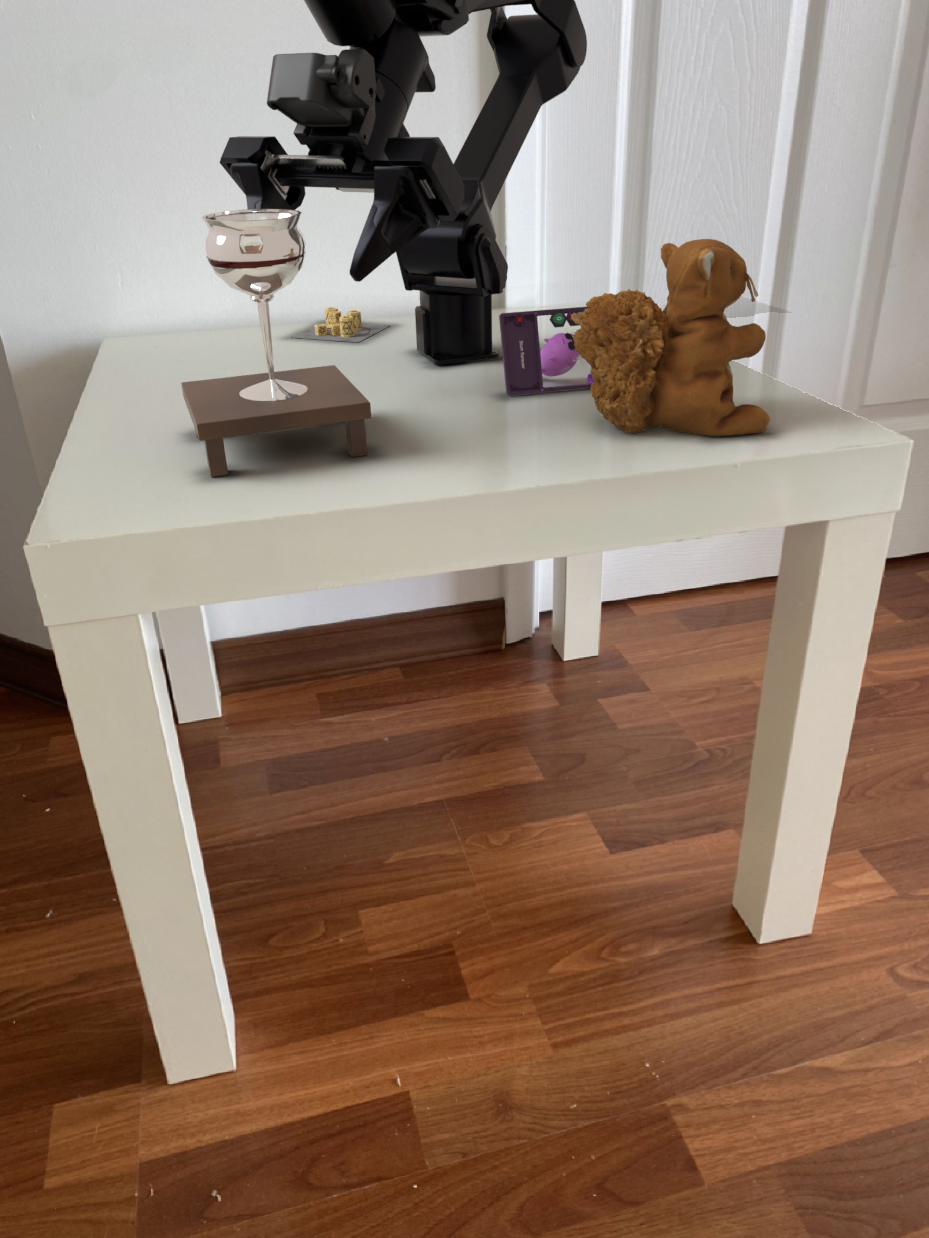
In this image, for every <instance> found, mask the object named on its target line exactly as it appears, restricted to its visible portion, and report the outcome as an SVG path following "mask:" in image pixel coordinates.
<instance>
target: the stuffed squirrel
mask: <svg viewBox="0 0 929 1238" xmlns="http://www.w3.org/2000/svg"><path fill="white" fill-rule="evenodd" d="M660 259H661V261H662V263H663V265H664V268H665V269H666V270H665V271H666V272H665V273H666V274H665V278H666V287H667V290H668V295H667V297H666V305H665V306H664V308H663V309H662V308H661V307H660V305H658V303H656V302H655V301H654V299H653V297H651V296H647V295H646V292H645V291H643V292H641V291H639V289H636V290H631V288H628V289H627V290H621V291H619V292H617V293H616V294H614V293H612V292H610V293H607V292H604V293H603V294H601V295H597V296H592V297H591V298H589V300H588V301H587V302H586V303H585V307H587V309H585V310H584V312H580V313H577V314H576V315H575V316H574V315H571V319H572V320H574V322H575V323H576V324H577V325H579V327H580V328H579V329H576V331H574V332H573V334H572V337H574V339H573V340H574V342H575V343H574V346H575V348H576V351H577V352H578V353H579V355H578V356H581V358H582V359H584V360H585V361H586V363H587V364H588V365H589V366H590V373H589V374H592V378H593V379H594V382H593V383H592V382H591V383H592V384H591V388H589V391H590V396H591V397H592V398H593V400H594V404H595V407H596V409H597V411H598V413H600V414H601V415H602V417H603V418H604V420H606V421H608V422H609V423H610V424H611V425H613V427H615V428H616V429H619V430H622V431H624V432H625V433H628V434H629V433H630V434H639V433H641V432H644V431H646V430H647V429H651V428H658V427H662V428H665V429H667V430H671V431H674V432H679V433H685V434H686V433H687V434H694V435H701V436H710V437H711V436H712V437H724V436H739V435H748V434H760V433H764V432H765V431H766V430H767V429H768V427H769V425H770V422H771V418H770V417H771V416H770V415H769V414H768V412H767V411H766V410H764V409H763V408H762V407H761V406H759V405H756V404H747V403H745V404H744V403H743V404H740V405H737V406H736V405H735V402H734V377H733V371H732V367H731V365H730V362H732V361H736V360H741V359H742V360H743V359H745V358H747V359H748V358H752V357H754V356H756V355H757V354H758V353H760V352H761V350H762V348H763V347H764V344H765V342H766V338H767V337H766V335H767V334H766V331H765V330H764V329H763V328H762V327H761V325H760V324H757V323H756V322H752V323H749V324H744V325H738V326H736V325H732V324H731V323H730V322H729V321H728V319H727V316H726V314H725V310H726V309H728V308H729V307H730V306H732V305H733V304H735V303H736V302H737V301H738V300H739V299H740V298H741V297H742V295H743V294H744V293H745V291H746V288H747V289H748V290H749V293H750V294H749V295H750V298H751V302H752V303H754V302H756V298H757V297H759V292H758V291H757V289H756V286H755V284H754V281H753V279H752V277H751V276H750V274H749V273H748V268H747V264H746V261H745V259H744V258H743V257H742V256H741V255H740V254H739V253H738V252H737V251H736V250H734V248H733V247H731V246H730V245H728V244H726V243H724V242H723V241H720V240H718V239H713V238H700V239H692V240H689V241H685V242H684V243H682V244H680V246H677V245H676V244H675V243H671V242H666V243H664V244H662V246H661V248H660ZM755 297H756V298H755Z"/></svg>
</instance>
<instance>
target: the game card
mask: <svg viewBox="0 0 929 1238" xmlns="http://www.w3.org/2000/svg"><path fill="white" fill-rule="evenodd" d="M585 309H587V306H579V307H578V306H577V307H576V306H575V307H565V308H564V307H563V308H553V309H551V308H550V309H538V310H526V311H525V310H524V311H514V312H502V313H500V314H499V316H498V320H499V332H500V342H501V352H502V362H503V372H504V373H503V375H504V384H505V393H506V395H507V396H520V395H531V394H539V393H540V394H541V393H551V392H560V391H570V390H572V391H573V390H581V389H591V384H592V383H593V382H594V379H593V378H592V374H591V373H588V374H587V375H586V376H587V377H586V383H578V384H567V385H557V386H556V385H555V386H546V387H545V386H544V382H543V381H544V380H543V376H546V377H552V378H553V377H558V376H559V377H560V376H562V375H564V374H566V373H568V372H569V371H571V370H572V369H573V368H574V366H575V365H576V364H577V362H578V360H581V358H582V357H579V356H580V355H579V353H578V352H577V351H576V348H575V346H574V343H575V342H574V340H573V339H574V337H573V336H572V335H573V334H574V332H571V333H569V332H559V333H556V334H554V335H553V336H551V337H549V338H544V339H543V341H544V342H545V343H546V344H545V345H544V346H543V347H542V348H541V346H540V333H539V323H538V321H539V320H538V317H541V316H550V318H549V321H550V323H551V324H552V326H553V328H564V327H565V325H566V323H567V324H568V325H569V327H580V325H577V324H576V323H575V322H574V320H572V319H571V315H574V316H575V315H576V314H577V313H580V312H581V313H582V312H584V310H585Z"/></svg>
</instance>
